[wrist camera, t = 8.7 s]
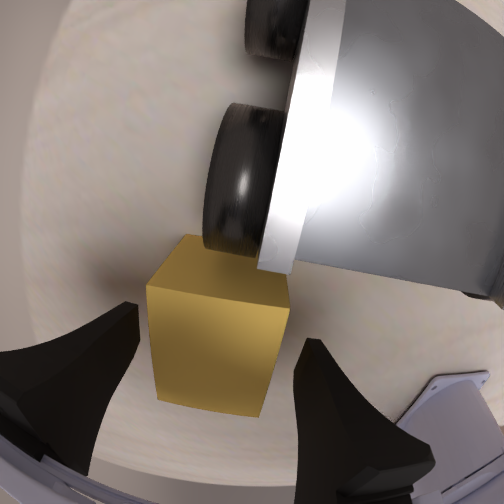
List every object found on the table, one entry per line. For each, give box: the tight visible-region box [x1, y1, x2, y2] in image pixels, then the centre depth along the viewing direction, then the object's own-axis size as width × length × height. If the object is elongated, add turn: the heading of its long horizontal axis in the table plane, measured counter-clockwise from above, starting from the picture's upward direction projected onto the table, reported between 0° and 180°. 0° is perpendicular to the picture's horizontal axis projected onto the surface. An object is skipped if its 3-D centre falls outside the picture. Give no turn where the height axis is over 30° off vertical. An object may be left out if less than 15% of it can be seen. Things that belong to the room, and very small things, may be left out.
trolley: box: [202, 0, 504, 310], centre depth 7 cm, size 12×13×6 cm
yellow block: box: [146, 234, 290, 418], centre depth 12 cm, size 6×4×5 cm
